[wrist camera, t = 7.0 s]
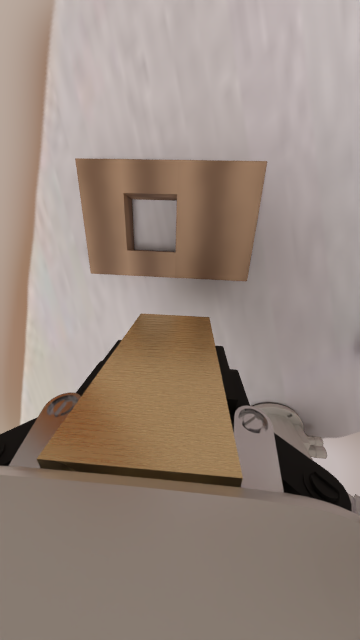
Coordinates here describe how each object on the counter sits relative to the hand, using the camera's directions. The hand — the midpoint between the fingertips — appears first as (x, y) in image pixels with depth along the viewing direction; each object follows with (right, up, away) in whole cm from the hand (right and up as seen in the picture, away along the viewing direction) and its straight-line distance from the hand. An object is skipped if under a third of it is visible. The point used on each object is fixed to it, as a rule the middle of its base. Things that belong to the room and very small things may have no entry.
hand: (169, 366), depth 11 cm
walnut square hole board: (-1, +15, +13) cm, 20 cm away
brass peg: (0, +1, +2) cm, 2 cm away
